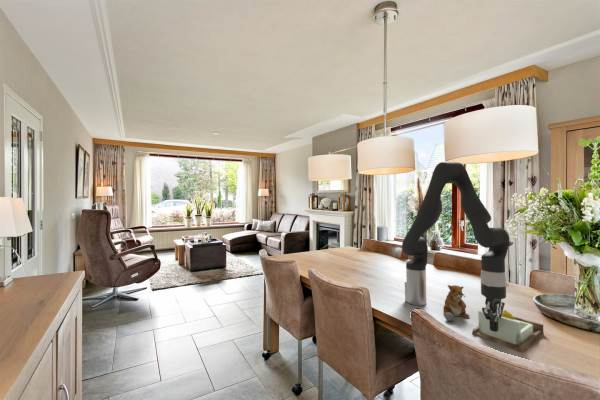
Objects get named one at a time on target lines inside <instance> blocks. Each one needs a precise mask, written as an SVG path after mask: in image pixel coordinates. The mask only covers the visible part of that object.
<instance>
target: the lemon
mask: <svg viewBox="0 0 600 400" xmlns="http://www.w3.org/2000/svg"><path fill="white" fill-rule="evenodd" d="M501 317H505V318H508V319H512V320H514V317H515V316H514V317H513V314H512V313H511V312H509V311H507V310H504V309H503V312H502V316H501Z"/></svg>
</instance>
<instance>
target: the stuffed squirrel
mask: <svg viewBox="0 0 600 400" xmlns="http://www.w3.org/2000/svg"><path fill="white" fill-rule="evenodd" d="M447 287H448V289H449V291H448V293H447V295H446V297H445V298H446V299H445V300H444V304H443V315H444V316H445V314H446V313H452V314H453V315H454V317H461V318H466V319H470V314H468V313H466V312H467V310H466V308H467V304H466V302H465V301H464V300H463V299H462V298H463V297H464V298H466V295H465V294H464V293H463V289H465V287H464V286H459V285H455V284H453V285H450V284H448V285H447Z"/></svg>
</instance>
